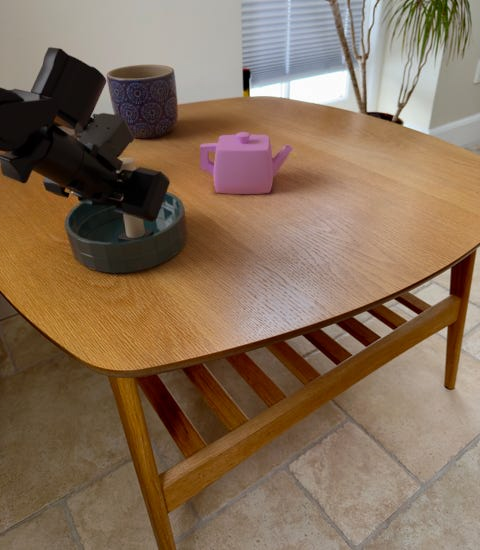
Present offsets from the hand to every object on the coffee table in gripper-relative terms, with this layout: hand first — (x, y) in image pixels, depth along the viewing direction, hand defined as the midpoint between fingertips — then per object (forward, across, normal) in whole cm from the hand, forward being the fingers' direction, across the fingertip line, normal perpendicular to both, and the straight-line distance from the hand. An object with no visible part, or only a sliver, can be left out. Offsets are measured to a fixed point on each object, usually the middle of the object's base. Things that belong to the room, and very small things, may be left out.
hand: (139, 204), depth 66 cm
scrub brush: (+3, 0, +6) cm, 7 cm away
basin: (+5, +3, +6) cm, 8 cm away
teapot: (+25, -4, -14) cm, 29 cm away
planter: (+36, +35, -26) cm, 57 cm away
